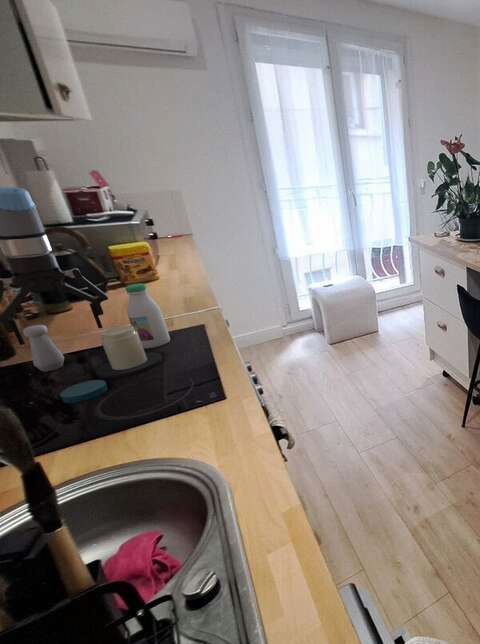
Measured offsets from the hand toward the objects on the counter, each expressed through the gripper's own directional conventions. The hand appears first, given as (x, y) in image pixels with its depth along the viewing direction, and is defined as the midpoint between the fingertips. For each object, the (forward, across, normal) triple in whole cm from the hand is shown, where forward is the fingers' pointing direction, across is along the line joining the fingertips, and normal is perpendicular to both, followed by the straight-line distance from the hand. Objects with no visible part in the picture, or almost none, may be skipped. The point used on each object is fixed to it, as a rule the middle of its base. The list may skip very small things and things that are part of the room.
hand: (63, 334), depth 105 cm
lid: (+12, 0, +9) cm, 16 cm away
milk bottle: (+14, -17, -15) cm, 27 cm away
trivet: (+14, -10, -2) cm, 17 cm away
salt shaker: (+14, +5, -17) cm, 23 cm away
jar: (+13, -10, -2) cm, 16 cm away
